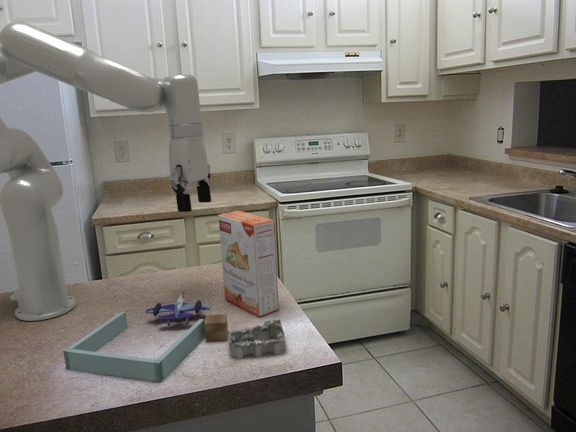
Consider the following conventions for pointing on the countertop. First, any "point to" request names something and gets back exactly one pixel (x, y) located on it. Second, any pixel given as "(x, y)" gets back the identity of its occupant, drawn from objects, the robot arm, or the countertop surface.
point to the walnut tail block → (216, 328)
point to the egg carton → (261, 334)
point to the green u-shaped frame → (88, 360)
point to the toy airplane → (177, 309)
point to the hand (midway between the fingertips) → (195, 206)
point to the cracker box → (249, 261)
